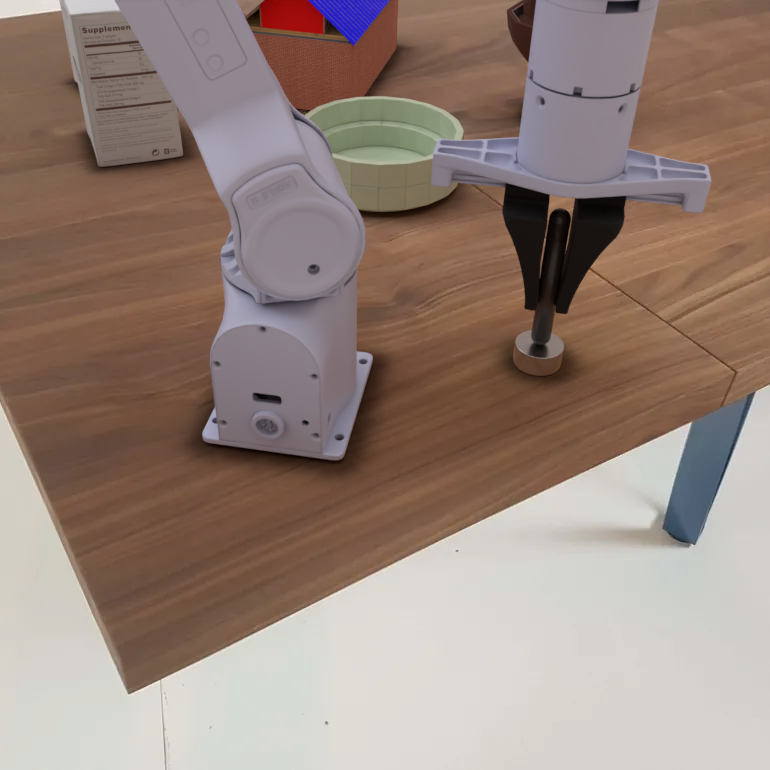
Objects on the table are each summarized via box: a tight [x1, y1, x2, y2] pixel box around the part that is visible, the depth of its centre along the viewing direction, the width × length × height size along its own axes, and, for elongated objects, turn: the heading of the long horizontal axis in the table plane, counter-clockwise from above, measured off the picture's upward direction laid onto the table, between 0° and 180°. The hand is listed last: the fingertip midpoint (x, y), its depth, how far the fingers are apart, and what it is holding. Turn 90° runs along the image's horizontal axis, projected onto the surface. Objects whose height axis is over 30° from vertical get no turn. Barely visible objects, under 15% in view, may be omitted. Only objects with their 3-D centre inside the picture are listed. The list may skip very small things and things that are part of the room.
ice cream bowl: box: [506, 0, 536, 63], centre depth 83 cm, size 11×11×15 cm
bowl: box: [303, 95, 465, 213], centre depth 75 cm, size 13×13×4 cm
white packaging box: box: [62, 0, 184, 168], centre depth 76 cm, size 7×7×13 cm
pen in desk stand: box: [512, 207, 572, 377], centre depth 54 cm, size 3×3×11 cm
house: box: [244, 0, 399, 111], centre depth 91 cm, size 12×20×12 cm, turn 167°
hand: (546, 302), depth 54 cm, fingers closed on pen in desk stand
